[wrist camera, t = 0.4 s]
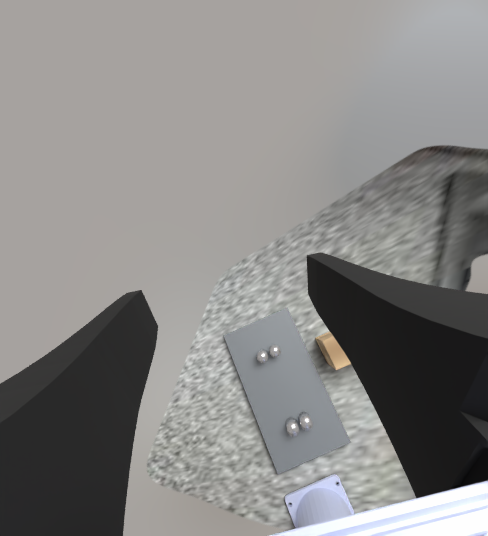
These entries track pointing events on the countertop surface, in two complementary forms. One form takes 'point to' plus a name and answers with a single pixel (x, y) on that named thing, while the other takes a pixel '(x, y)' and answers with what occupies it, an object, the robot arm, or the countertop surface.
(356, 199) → the countertop surface
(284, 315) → the flat gray rectangular plate
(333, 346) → the board
